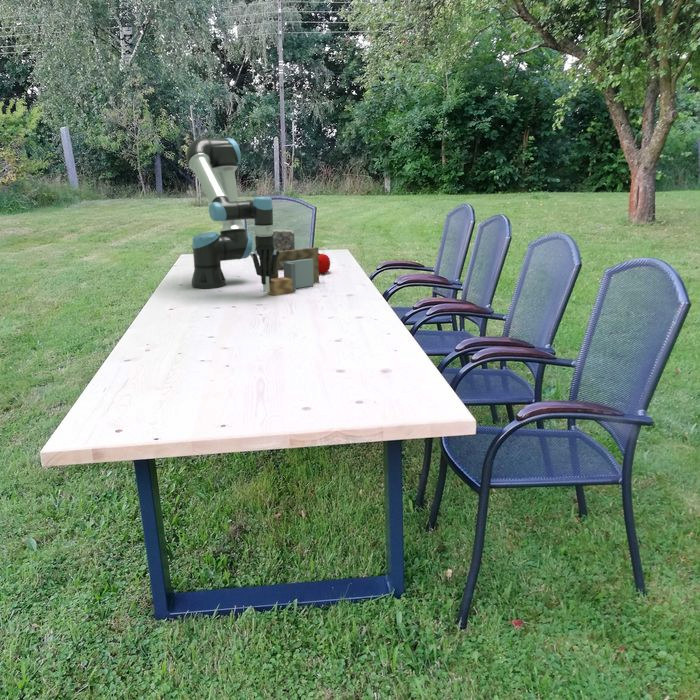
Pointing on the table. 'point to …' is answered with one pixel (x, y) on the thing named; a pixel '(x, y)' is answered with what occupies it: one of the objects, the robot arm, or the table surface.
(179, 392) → the table surface
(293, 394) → the table surface
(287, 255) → the wall frame
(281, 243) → the stone block
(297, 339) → the table surface
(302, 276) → the gate
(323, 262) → the tomato
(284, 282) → the block
